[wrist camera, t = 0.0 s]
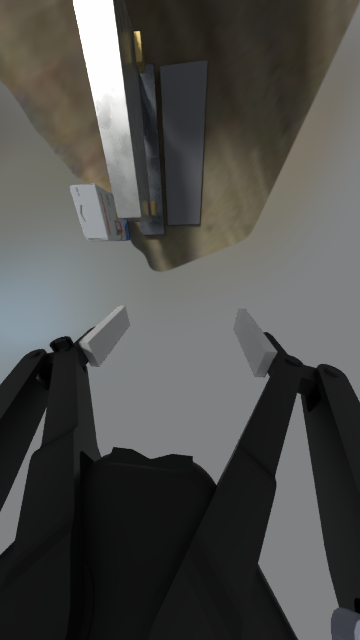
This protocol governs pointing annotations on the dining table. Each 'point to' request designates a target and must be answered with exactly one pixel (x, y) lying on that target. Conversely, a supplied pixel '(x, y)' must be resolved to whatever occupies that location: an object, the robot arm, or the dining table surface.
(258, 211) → the dining table surface
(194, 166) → the mat
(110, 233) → the ink box
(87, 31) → the rail
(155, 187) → the stand
